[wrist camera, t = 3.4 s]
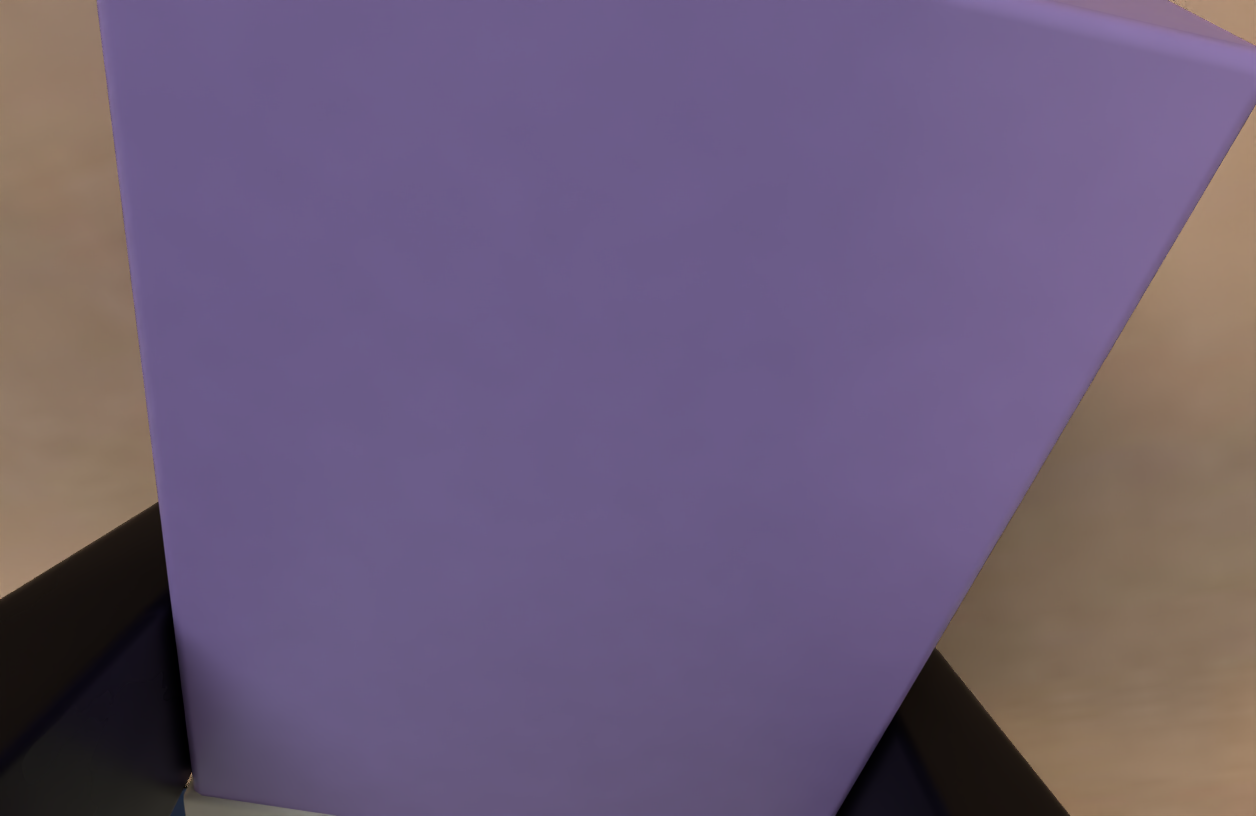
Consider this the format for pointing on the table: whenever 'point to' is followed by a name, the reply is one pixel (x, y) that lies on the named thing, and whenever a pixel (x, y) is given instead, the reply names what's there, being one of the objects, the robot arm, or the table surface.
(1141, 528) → the table surface
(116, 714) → the robot arm
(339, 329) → the chocolate
